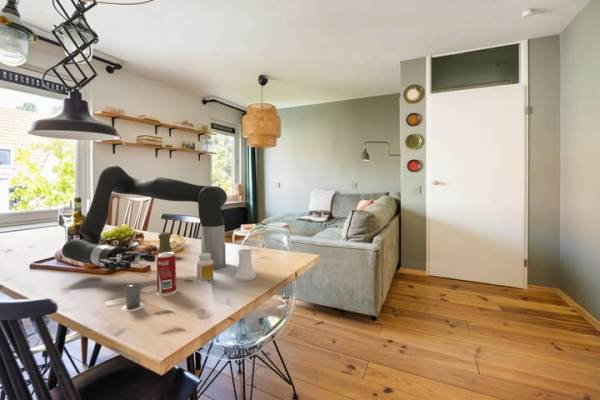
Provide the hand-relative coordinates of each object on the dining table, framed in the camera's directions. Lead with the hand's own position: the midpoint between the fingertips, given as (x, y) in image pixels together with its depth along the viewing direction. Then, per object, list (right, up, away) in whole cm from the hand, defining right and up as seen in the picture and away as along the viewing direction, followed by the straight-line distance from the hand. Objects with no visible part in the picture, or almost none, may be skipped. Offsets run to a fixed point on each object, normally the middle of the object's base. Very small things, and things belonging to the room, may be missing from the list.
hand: (142, 262), depth 89 cm
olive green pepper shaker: (-13, -7, +43) cm, 45 cm away
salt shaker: (+30, -9, +14) cm, 34 cm away
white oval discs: (+4, -10, -7) cm, 13 cm away
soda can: (+10, -9, -3) cm, 13 cm away
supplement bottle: (+17, -9, +10) cm, 22 cm away
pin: (+5, -9, -14) cm, 17 cm away
